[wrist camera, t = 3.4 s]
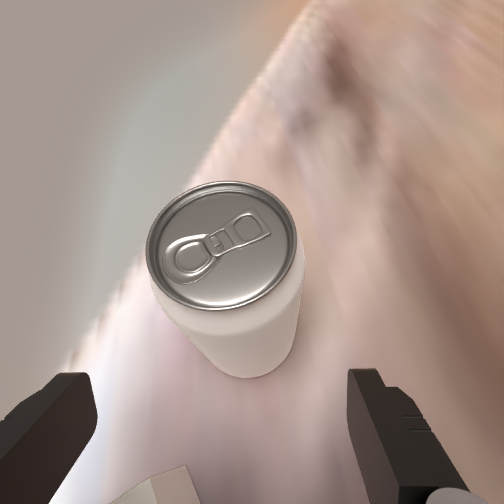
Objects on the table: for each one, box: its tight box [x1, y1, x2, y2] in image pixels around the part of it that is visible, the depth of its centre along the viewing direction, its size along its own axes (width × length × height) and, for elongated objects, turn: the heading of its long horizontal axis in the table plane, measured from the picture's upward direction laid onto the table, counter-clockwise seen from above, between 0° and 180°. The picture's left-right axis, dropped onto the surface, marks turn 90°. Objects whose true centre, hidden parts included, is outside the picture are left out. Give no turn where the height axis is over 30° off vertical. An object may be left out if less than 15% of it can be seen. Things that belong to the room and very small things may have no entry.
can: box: [146, 181, 305, 378], centre depth 17 cm, size 6×6×12 cm
